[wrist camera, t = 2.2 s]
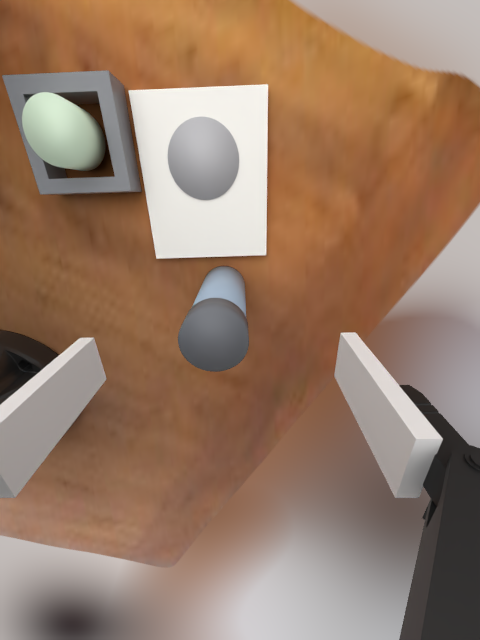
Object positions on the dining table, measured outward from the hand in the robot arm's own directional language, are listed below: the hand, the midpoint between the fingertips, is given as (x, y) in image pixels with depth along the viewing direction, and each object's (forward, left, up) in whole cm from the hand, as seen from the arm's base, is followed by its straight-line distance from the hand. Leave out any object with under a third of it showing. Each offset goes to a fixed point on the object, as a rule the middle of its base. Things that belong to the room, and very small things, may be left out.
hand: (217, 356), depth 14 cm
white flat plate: (-1, +9, -13) cm, 15 cm away
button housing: (-10, +12, -13) cm, 20 cm away
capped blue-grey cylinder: (0, 0, -13) cm, 13 cm away
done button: (-10, +12, -11) cm, 19 cm away
